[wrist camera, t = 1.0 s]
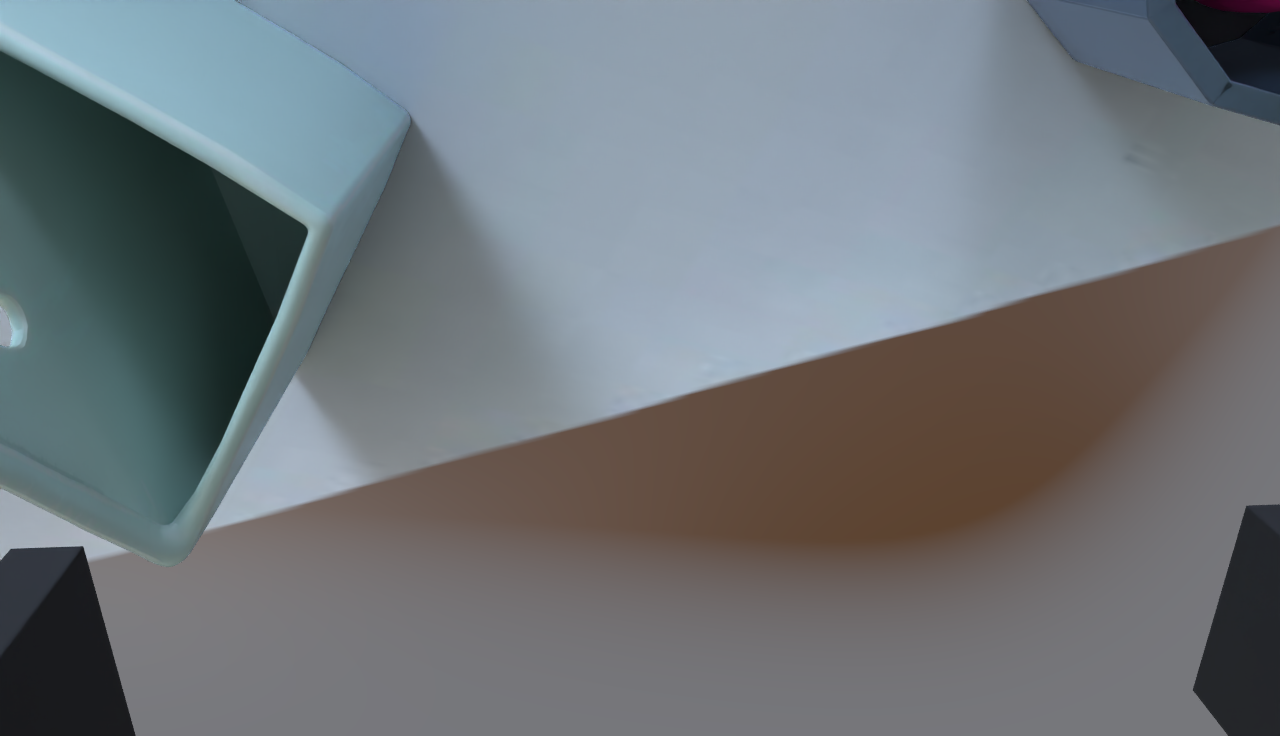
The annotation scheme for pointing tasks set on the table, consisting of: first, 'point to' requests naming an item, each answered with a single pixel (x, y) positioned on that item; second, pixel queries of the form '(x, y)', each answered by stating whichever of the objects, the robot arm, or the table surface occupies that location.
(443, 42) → the table surface
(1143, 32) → the crock
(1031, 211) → the table surface
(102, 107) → the planter
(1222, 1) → the pepper mill
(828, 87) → the table surface
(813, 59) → the table surface
